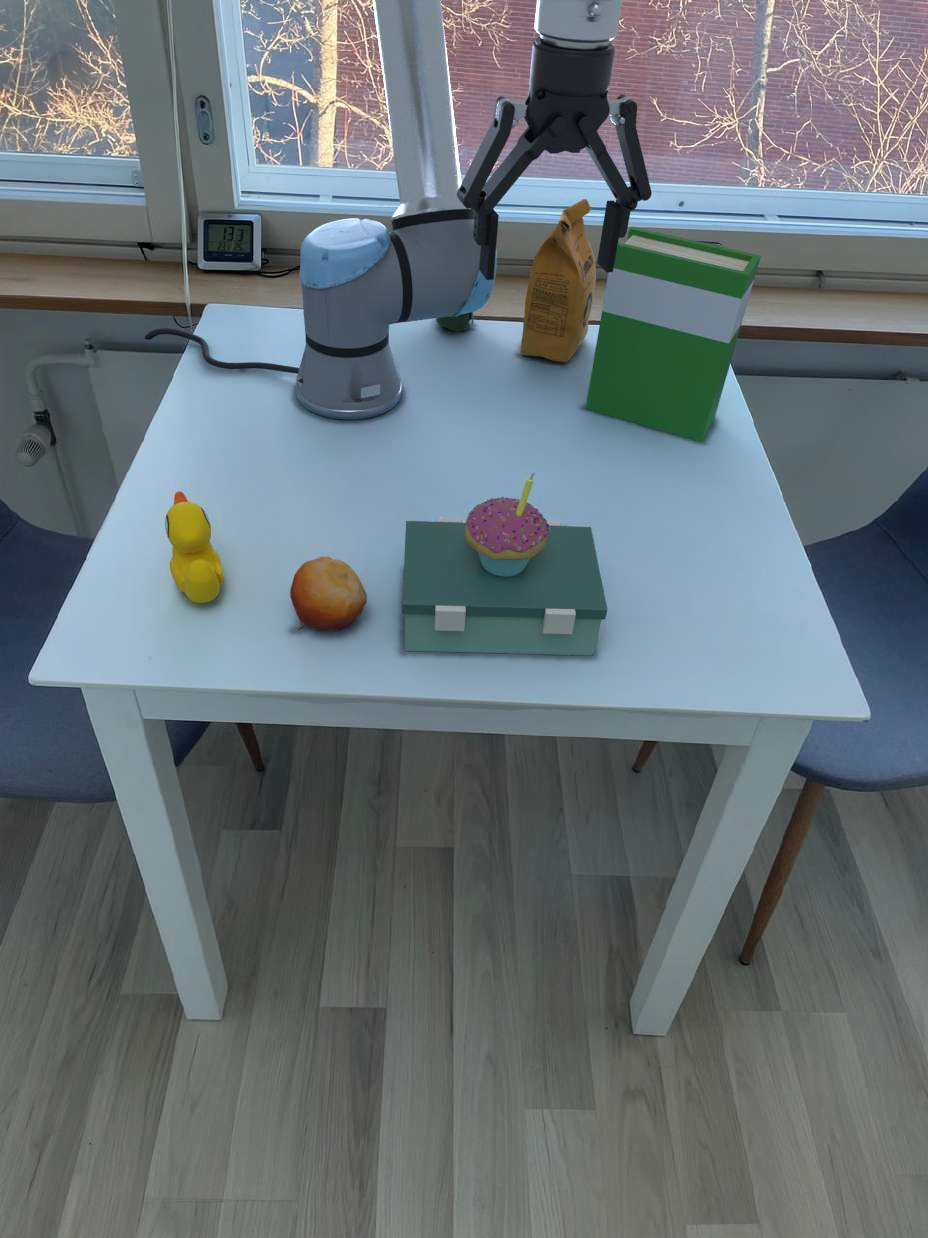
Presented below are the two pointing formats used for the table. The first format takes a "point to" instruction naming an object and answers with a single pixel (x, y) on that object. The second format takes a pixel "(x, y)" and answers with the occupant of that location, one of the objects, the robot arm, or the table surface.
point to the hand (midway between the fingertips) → (546, 271)
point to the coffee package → (560, 290)
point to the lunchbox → (500, 594)
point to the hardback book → (669, 331)
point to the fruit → (327, 594)
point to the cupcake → (506, 533)
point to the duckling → (193, 551)
